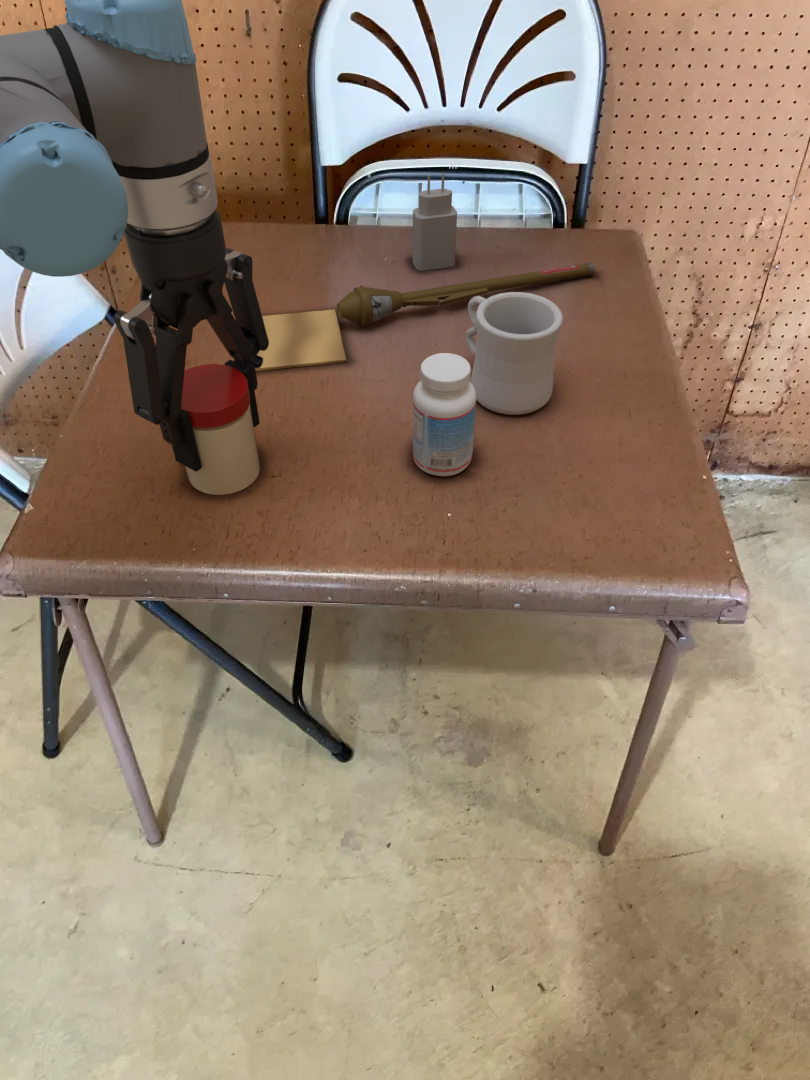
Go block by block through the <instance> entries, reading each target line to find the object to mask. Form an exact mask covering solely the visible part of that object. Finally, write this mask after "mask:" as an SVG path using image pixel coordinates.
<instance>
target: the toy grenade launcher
mask: <svg viewBox="0 0 810 1080" xmlns="http://www.w3.org/2000/svg"><path fill="white" fill-rule="evenodd" d="M595 271H596V267H595V264H594V262H592V261H590V262H586V263H580V264H575V265H569V266H562V267H556V268H549V269H544V270H537V271H532V272H531V271H530V272H525V273H518V274H513V275H506V276H500V277H499V276H498V277H494V278H487V279H481V280H475V281H469V282H463V283H457V284H450V285H445V286H444V285H443V286H438V287H431V288H426V289H418V290H413V291H406V292H400V291H397V290H391V289H390V290H389V289H383V288H377V287H370V286H369V287H368V286H365V285H359V286H357V287H356V286H355V287H354V288H353V289H352V291H350V292H349V293H348V294H346V295H345V296H344V297H343V298H342V299H341V300H339V301H338V302H337V304H336V310H337V311H336V312H337V314H338V317H340V318H343V319H344V320H347V321H349V322H352V323H354V324H358V325H359V326H366V327H368V326H370V325H371V324H372V323H374V322H376V321H378V320H380V319H382V318H385V317H387V316H389V315H391V314H393V313H394V312H397V311H399V310H400V309H402V308H407V307H435V306H436V307H437V306H438V307H442V306H446V305H450V304H454V303H458V302H461V301H462V302H463V301H466V300H471V298H473V297H476V296H482V295H485V294H488V293H489V292H495V291H501V290H508V289H513V288H514V289H515V288H519V287H525V286H531V285H537V284H544V283H550V282H555V281H562V280H568V279H574V278H580V277H586V276H588V277H589V276H594V274H595Z"/></svg>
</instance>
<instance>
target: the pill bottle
mask: <svg viewBox="0 0 810 1080" xmlns="http://www.w3.org/2000/svg"><path fill="white" fill-rule="evenodd" d="M471 373H472V370H471V364H470V362H469V361H468V360H467V359H466V358H464V357H463V356H461V355H458V354H455V353H449V352H441V353H435V354H432V355H429V356H428V357H425V359H424V360H423V361H422V362H421V365H420V373H419V379H420V380H419V381H418V382H417V383H416V385H415V387H414V389H413V393H412V395H413V396H412V456H413V460H414V463H415V464H416V466H417V467H418V468H419V469H420V470H421V471H423V472H425V473H426V474H429V475H432V476H436V477H437V476H438V477H450V476H455V475H457V474H460V473H461V472H463V471H464V470H465V469H466V468H468V466H469V465H470V463H471V462H472V459H473V455H474V453H473V452H474V439H475V437H474V436H475V422H476V420H475V419H476V408H477V407H476V406H477V400H476V391H475V388H474V386H473V385H472V384H471V382H470V381H471Z"/></svg>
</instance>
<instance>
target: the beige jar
mask: <svg viewBox="0 0 810 1080" xmlns="http://www.w3.org/2000/svg"><path fill="white" fill-rule="evenodd" d="M192 428H193V432H194V436H195V440H196V445H197V449H198V453H199V457H200V461H201V466H202V468H201V469H200V470H198V471H197V472H195V471H194V470H192V469H190V468H188V467H186V466H184V467H185V471H186V475H187V478H188V481H189V483H190V484H191V486H192V487H193V488H194V489H196V490H198V491H199V492H201V493H204V494H207V495H214V496H224V495H231V494H235V493H238V492H240V491H242V490H245V489H247V488H248V487H249V486H251V485H252V484H253V483H254V482H255V481H256V480H257V478H258V476H259V474H260V470H261V463H260V457H259V451H258V445H257V439H256V433H255V427H254V426H253V420H252V414H251V407H250V404H249V407H248V409H247V410H246V412H245V413H244V414H243V415H242V416H241V417H239V418H238V419H236V420H235V421H233V422H231V423H228V424H226V425H222V426H218V427H213V428H195V427H192Z"/></svg>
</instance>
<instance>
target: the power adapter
mask: <svg viewBox="0 0 810 1080" xmlns="http://www.w3.org/2000/svg"><path fill="white" fill-rule="evenodd" d="M426 188H427V190H422V191H421V192H420V193H418V207H416V208H414V209H412V257H411V258H412V260H411V261H412V262H411V263H412V265H413V266H414V268H415V270H417V271H419V272H424V271H430V270H431V271H432V270H439V269H446V268H452V267H455V264H456V246H457V245H456V244H457V223H458V211H457V209H456V208H455V207H454V206H453V205H452V203H453V191H452V190H451V189H448V188H445V173H444V172H442V173H441V188H434V189H431V174H428V175H427V187H426Z"/></svg>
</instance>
